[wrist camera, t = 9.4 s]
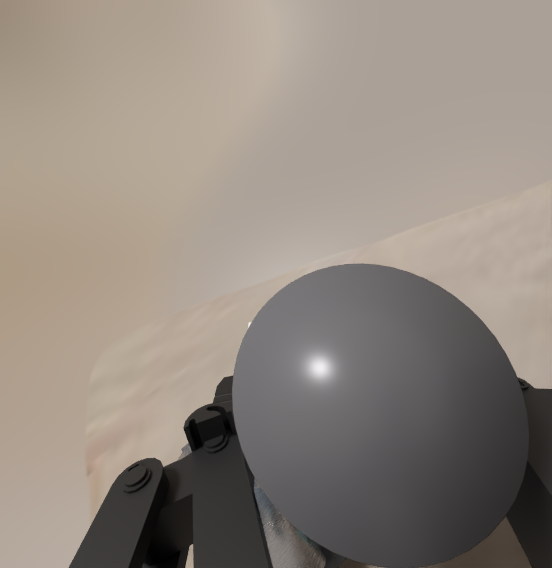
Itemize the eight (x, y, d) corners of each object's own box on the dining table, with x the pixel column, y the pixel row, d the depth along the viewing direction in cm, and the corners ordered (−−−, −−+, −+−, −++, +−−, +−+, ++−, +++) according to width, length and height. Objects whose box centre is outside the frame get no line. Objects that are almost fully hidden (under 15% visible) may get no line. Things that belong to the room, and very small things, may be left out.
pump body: (331, 352, 18) (359, 226, 7) (403, 427, 16) (592, 397, 5) (263, 414, 17) (182, 367, 6) (331, 505, 14) (385, 679, 4)
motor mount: (328, 327, 23) (331, 299, 18) (440, 438, 18) (480, 438, 14) (190, 448, 20) (154, 450, 15) (285, 615, 15) (273, 685, 11)
